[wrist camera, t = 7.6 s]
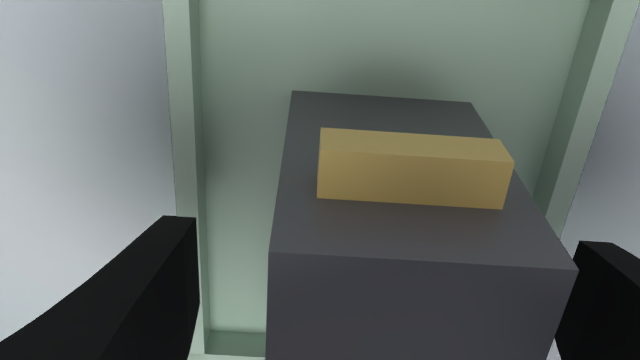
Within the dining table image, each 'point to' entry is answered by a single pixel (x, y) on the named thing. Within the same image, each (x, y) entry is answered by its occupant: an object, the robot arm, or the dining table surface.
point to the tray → (374, 80)
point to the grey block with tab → (407, 238)
